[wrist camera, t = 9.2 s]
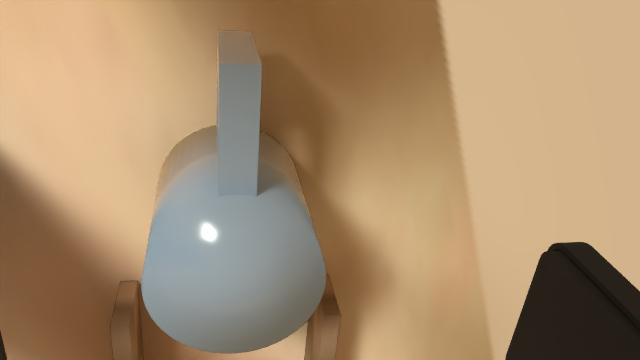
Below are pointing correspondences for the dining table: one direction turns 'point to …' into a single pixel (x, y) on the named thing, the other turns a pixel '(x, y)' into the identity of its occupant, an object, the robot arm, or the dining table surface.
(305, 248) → the grey-blue mug
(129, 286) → the caddy
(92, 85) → the dining table surface
